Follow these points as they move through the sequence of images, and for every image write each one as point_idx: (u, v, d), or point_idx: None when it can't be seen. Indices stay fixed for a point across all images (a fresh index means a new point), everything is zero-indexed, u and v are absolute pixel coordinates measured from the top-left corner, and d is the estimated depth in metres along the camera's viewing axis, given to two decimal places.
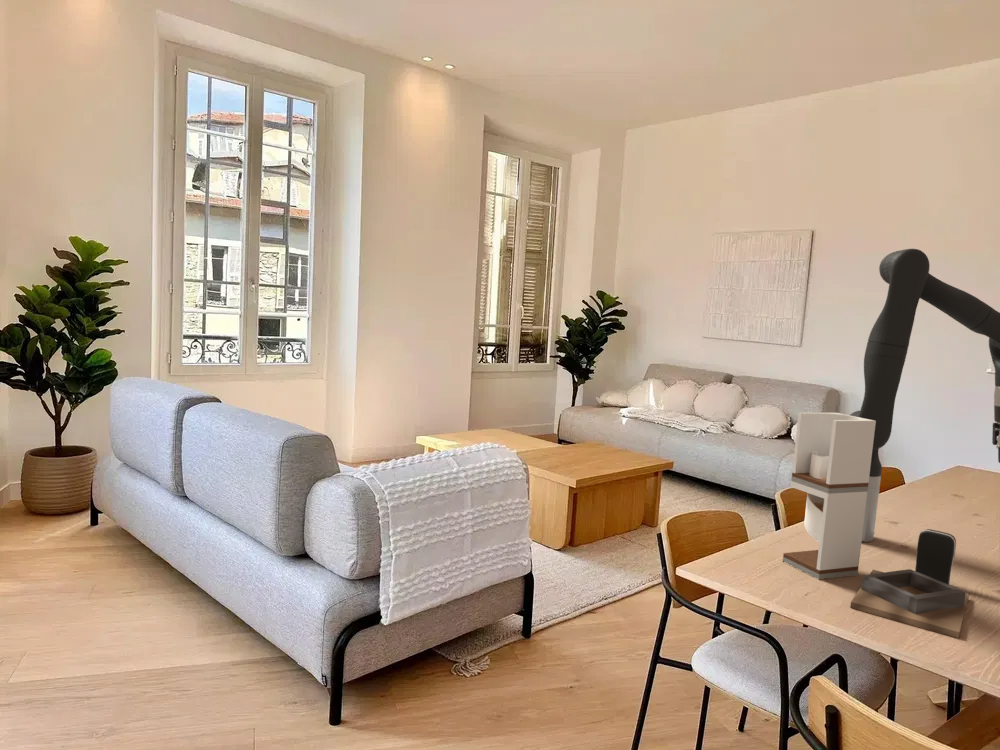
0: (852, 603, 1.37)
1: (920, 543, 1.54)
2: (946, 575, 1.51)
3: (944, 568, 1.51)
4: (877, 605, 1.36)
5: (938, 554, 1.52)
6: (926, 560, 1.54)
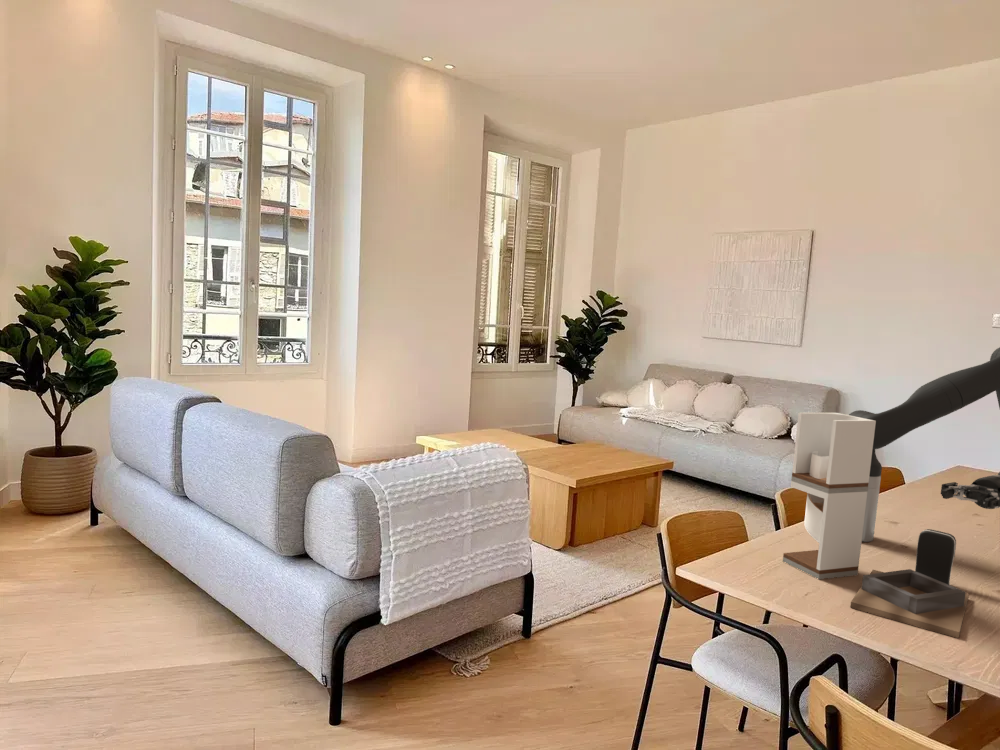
0: (852, 603, 1.37)
1: (920, 543, 1.54)
2: (946, 575, 1.51)
3: (944, 568, 1.51)
4: (877, 605, 1.36)
5: (938, 554, 1.52)
6: (926, 560, 1.54)
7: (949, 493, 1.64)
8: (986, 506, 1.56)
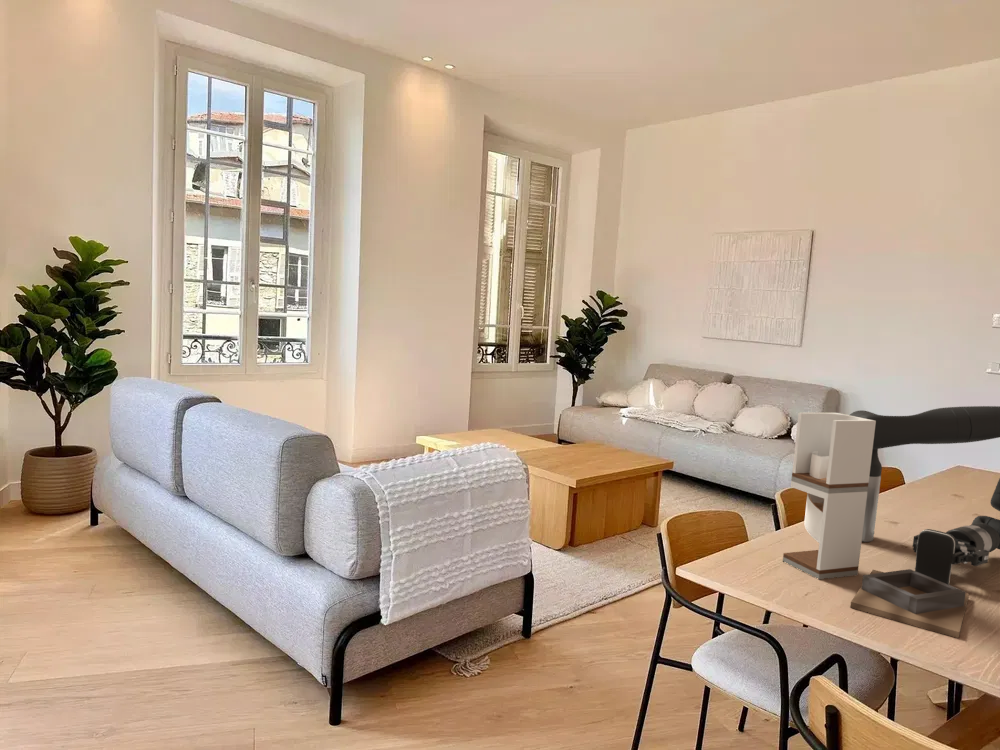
0: (852, 603, 1.37)
1: (920, 543, 1.54)
2: (946, 575, 1.51)
3: (943, 568, 1.51)
4: (877, 605, 1.36)
5: (938, 554, 1.52)
6: (926, 560, 1.54)
7: None
8: (953, 562, 1.50)
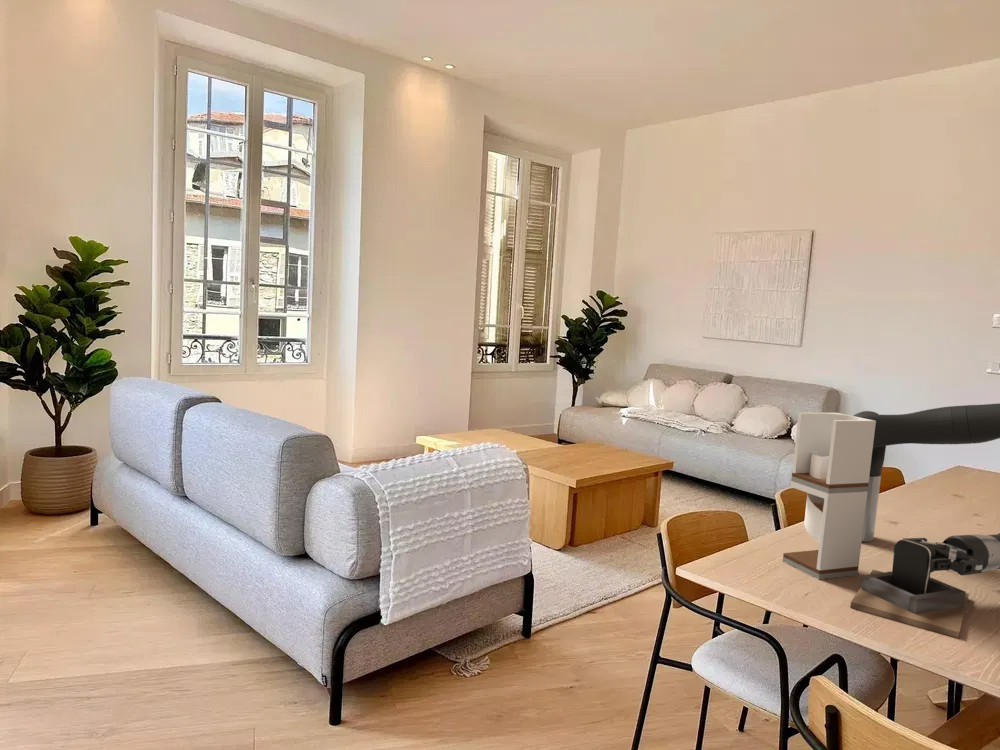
0: (852, 603, 1.37)
1: (896, 553, 1.43)
2: (920, 589, 1.38)
3: (917, 582, 1.39)
4: (877, 605, 1.36)
5: (912, 566, 1.40)
6: (901, 571, 1.42)
7: None
8: (932, 568, 1.36)
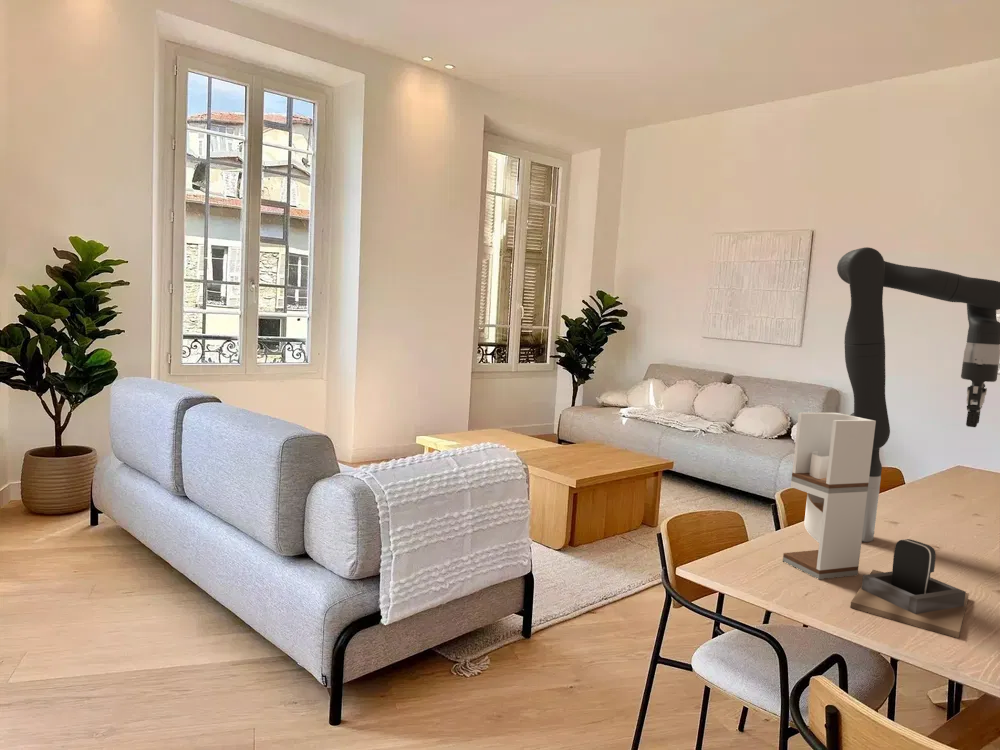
0: (852, 603, 1.37)
1: (896, 553, 1.43)
2: (920, 589, 1.38)
3: (917, 582, 1.39)
4: (877, 605, 1.36)
5: (912, 566, 1.40)
6: (901, 571, 1.42)
7: None
8: None
